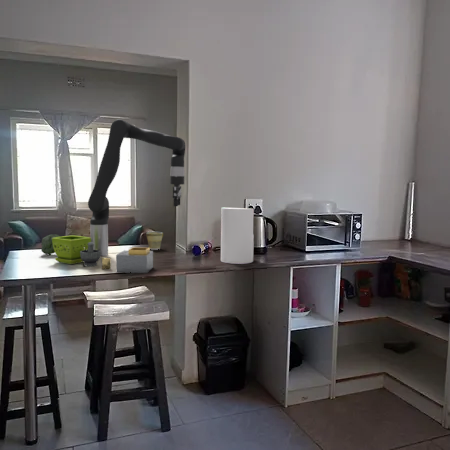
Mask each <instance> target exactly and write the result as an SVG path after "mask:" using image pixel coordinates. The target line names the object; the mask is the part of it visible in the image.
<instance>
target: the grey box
mask: <svg viewBox="0 0 450 450" xmlns="http://www.w3.org/2000/svg"><path fill="white" fill-rule="evenodd" d="M115 256H116V259H115V262H116V263H115V264H116V265H115V266H116V269H115V270H116V273H121V274H122V272H125V273H126V274H129V273H130V272H131V273H130V274H148V273H149V272H150V271H151V270H152V269H153V268H154V250H150V248H149V247H137V246H136V247H131V248H130V249H128V250H125V249H124V250H123V251H120V252H119V253H117V254H116V255H115Z"/></svg>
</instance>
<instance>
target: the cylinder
mask: <svg viewBox="0 0 450 450" xmlns="http://www.w3.org/2000/svg"><path fill="white" fill-rule="evenodd" d="M220 209H221V211H220V212H221V214H220V217H221V219H220V221H221V222H220V224H221V225H220V262H222V263H226V264H232V265H234V264H237V265H238V264H239V265H240V264H241V265H243V264H250V263H253V262H254V244H255V241H254V239H255V238H254V237H255V235H254V215H255V214H254V208H249V207H247V208H246V207H245V208H243V207H224V206H223V207H221V208H220Z"/></svg>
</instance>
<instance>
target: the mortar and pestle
mask: <svg viewBox="0 0 450 450" xmlns="http://www.w3.org/2000/svg"><path fill="white" fill-rule="evenodd" d="M93 245H94V243H93V242H89V243H88V250H83V251H80V255H81V259H82V261H84V262H83V266H84V267H95V266H98V263H97V262H99V260H100V259H101V256H100V255H101V251H100V250H93Z"/></svg>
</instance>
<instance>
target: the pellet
mask: <svg viewBox="0 0 450 450" xmlns="http://www.w3.org/2000/svg"><path fill="white" fill-rule="evenodd" d="M111 262H112V260H111V257H102V258H101V270H105V271H106V270H111V269H112V266H111V265H112V263H111Z"/></svg>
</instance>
